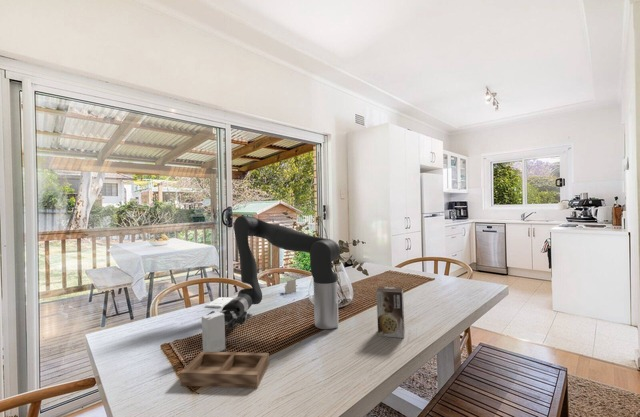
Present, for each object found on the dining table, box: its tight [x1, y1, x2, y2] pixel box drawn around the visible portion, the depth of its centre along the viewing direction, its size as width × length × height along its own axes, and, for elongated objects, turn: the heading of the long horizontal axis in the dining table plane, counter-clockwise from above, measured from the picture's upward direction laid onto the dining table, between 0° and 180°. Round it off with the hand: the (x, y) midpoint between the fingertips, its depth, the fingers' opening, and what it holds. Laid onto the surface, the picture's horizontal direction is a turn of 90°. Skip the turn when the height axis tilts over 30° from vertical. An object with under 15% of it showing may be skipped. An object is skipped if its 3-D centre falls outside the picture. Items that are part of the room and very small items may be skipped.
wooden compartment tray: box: [179, 351, 270, 389], centre depth 85 cm, size 21×12×4 cm, turn 84°
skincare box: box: [201, 311, 227, 352], centre depth 99 cm, size 6×4×12 cm
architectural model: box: [283, 278, 298, 295], centre depth 165 cm, size 3×7×7 cm, turn 127°
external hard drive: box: [204, 296, 234, 309], centre depth 149 cm, size 2×8×12 cm
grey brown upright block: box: [375, 285, 406, 339], centre depth 108 cm, size 9×6×16 cm
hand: (217, 325), depth 102 cm, fingers open, 8 cm apart
